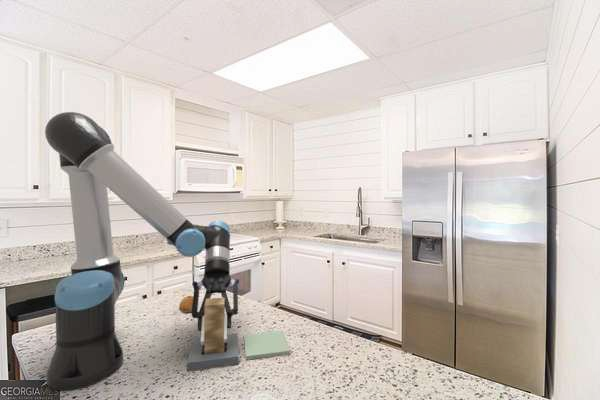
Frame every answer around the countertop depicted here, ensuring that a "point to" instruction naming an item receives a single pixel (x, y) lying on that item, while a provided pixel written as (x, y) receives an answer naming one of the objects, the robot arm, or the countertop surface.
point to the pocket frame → (213, 355)
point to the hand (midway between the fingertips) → (214, 341)
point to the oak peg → (214, 325)
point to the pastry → (186, 304)
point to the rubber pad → (265, 345)
